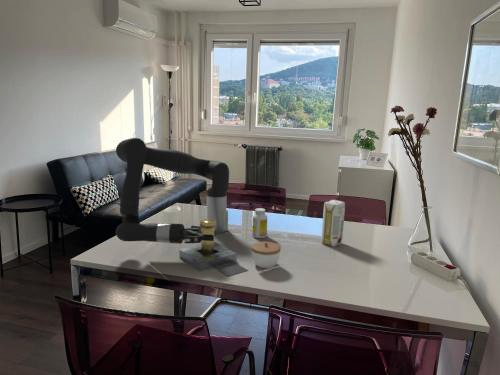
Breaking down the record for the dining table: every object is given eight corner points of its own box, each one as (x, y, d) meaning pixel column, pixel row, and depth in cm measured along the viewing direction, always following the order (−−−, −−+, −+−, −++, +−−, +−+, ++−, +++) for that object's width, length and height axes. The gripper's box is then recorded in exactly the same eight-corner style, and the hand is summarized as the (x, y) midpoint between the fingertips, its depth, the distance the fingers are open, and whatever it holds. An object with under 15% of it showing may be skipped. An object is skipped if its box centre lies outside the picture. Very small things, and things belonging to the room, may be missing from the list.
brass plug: (210, 252, 150) (210, 217, 147) (218, 257, 145) (218, 221, 142) (196, 256, 146) (196, 220, 143) (204, 261, 142) (205, 224, 139)
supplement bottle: (268, 235, 177) (269, 208, 174) (264, 239, 170) (265, 212, 168) (254, 233, 179) (255, 206, 176) (250, 237, 173) (251, 210, 170)
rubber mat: (233, 263, 144) (234, 261, 144) (248, 271, 137) (248, 270, 137) (213, 269, 138) (213, 267, 138) (227, 278, 131) (227, 276, 131)
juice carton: (343, 243, 168) (347, 202, 164) (333, 248, 162) (337, 205, 158) (329, 238, 173) (332, 198, 169) (318, 243, 167) (321, 202, 163)
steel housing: (214, 249, 157) (214, 241, 157) (236, 262, 145) (236, 253, 144) (179, 257, 148) (179, 249, 147) (200, 272, 135) (200, 263, 135)
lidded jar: (270, 274, 135) (271, 250, 133) (245, 267, 141) (246, 243, 139) (284, 264, 144) (285, 241, 142) (260, 258, 150) (261, 235, 148)
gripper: (165, 230, 137) (212, 232, 136) (174, 218, 151) (217, 220, 150) (165, 249, 138) (211, 251, 138) (175, 236, 152) (217, 238, 152)
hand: (214, 235), depth 144 cm, fingers closed on brass plug, 5 cm apart
